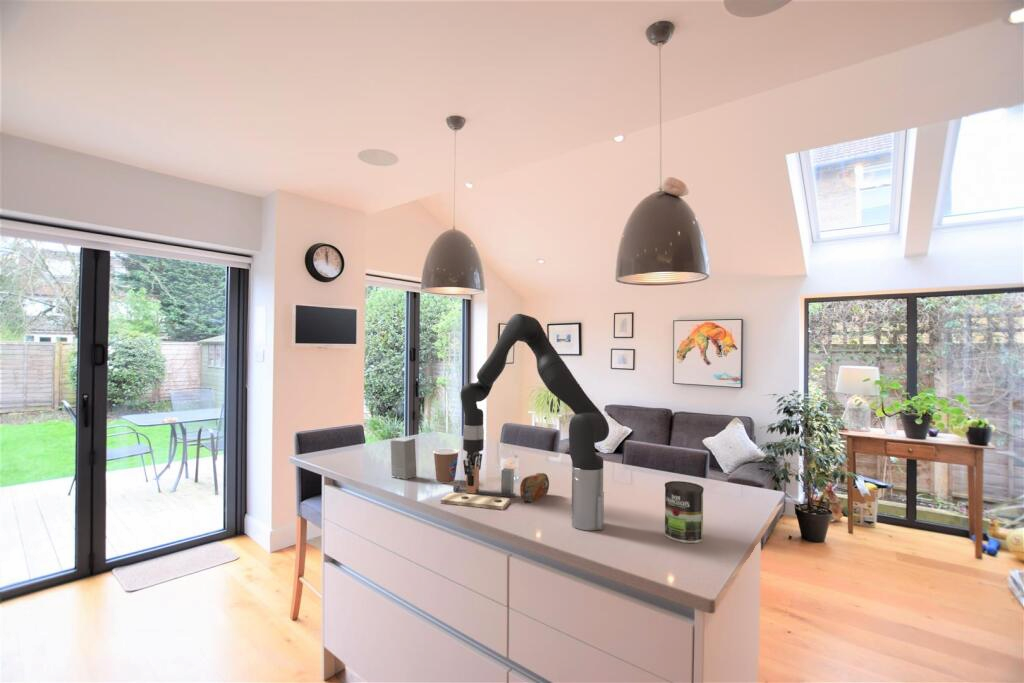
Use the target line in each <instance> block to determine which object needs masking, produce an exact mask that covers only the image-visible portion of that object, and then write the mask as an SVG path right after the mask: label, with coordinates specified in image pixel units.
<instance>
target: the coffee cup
mask: <svg viewBox="0 0 1024 683" xmlns="http://www.w3.org/2000/svg"><path fill="white" fill-rule="evenodd" d="M459 452H460V450H459V449H456V448H455V449H454V448H438V449H435V450H433V458H434V459H433V460H434V467H435V470H434V471H435V478H436V483H438V482H439V483H438V484H442V483H447V484H452V483H454V482H455V479H456V474H457V465H458V459H459ZM451 482H452V483H451Z"/></svg>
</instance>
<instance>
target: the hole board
mask: <svg viewBox="0 0 1024 683" xmlns="http://www.w3.org/2000/svg"><path fill="white" fill-rule="evenodd" d="M440 502H441V503H440V504H443V503H449V504H448V505H452V504H458V505H457V506H462V505H465V506H464V507H471V506H474V507H473V508H480V507H483V509H489V508H491V509H492V510H498V509H501V510H502V511H503V510H504V509H505V508H506V507H507V506H508V505H509V504H510V503H511V498H508V497H501V496H492V495H482V494H472V493H463V492H450V493H448V494H447V495H445V496H443V497H442V498H441V499H440ZM491 509H490V510H491Z"/></svg>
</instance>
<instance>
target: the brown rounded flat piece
mask: <svg viewBox="0 0 1024 683" xmlns="http://www.w3.org/2000/svg"><path fill="white" fill-rule="evenodd" d="M519 489H520V491H519V494H520V497H521V499H522V500H523V501H524V502H528V503H534V502H536V501H538V500H540V499H543V498H545V496H546V495H548V493H549V489H550V481H549V477H548V475H547V474H546V473H544V472H543V473H542V472H537V473H535V474H532V475H528V476H526V477H524V478H523V479H522V481H521V482H520V487H519ZM542 497H543V498H542ZM535 500H536V501H535Z"/></svg>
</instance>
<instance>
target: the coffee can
mask: <svg viewBox="0 0 1024 683" xmlns="http://www.w3.org/2000/svg"><path fill="white" fill-rule="evenodd" d="M704 489H705V488H704V486H703V485H700V484H698V483H693V482H689V481H682V480H680V481H679V480H672V481H667V482H665V483H664V491H665V492H664V495H665V496H664V500H665V501H664V508H665V509H664V536H665V537H667V538H668V539H670V540H672V541H673V542H678V543H683V544H699V543H701V542H703V541H704Z"/></svg>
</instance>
